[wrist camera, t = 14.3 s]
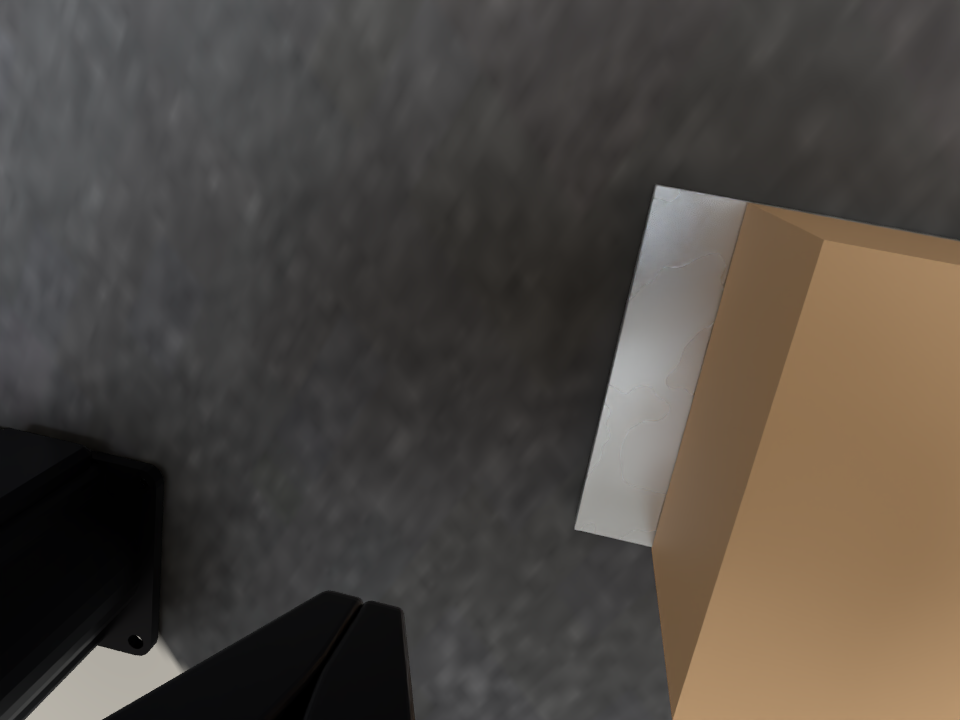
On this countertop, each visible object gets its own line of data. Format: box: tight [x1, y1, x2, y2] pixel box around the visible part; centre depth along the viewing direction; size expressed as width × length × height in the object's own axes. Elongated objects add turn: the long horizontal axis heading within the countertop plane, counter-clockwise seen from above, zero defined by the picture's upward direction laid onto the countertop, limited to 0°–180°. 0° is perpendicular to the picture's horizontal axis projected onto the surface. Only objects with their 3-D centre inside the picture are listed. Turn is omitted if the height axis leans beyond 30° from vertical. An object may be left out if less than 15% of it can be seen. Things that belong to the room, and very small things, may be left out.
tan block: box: [652, 203, 960, 720], centre depth 15 cm, size 9×7×6 cm
